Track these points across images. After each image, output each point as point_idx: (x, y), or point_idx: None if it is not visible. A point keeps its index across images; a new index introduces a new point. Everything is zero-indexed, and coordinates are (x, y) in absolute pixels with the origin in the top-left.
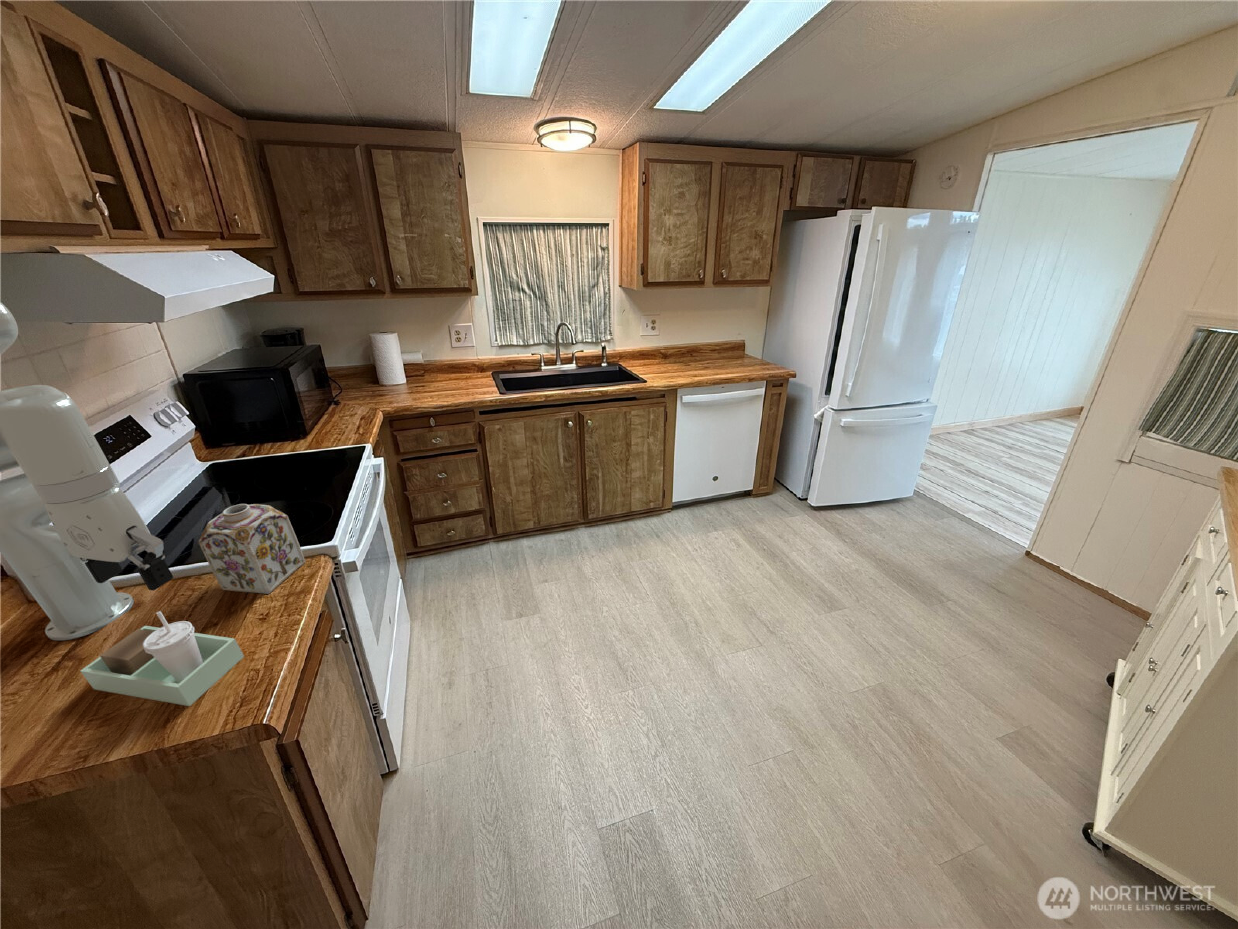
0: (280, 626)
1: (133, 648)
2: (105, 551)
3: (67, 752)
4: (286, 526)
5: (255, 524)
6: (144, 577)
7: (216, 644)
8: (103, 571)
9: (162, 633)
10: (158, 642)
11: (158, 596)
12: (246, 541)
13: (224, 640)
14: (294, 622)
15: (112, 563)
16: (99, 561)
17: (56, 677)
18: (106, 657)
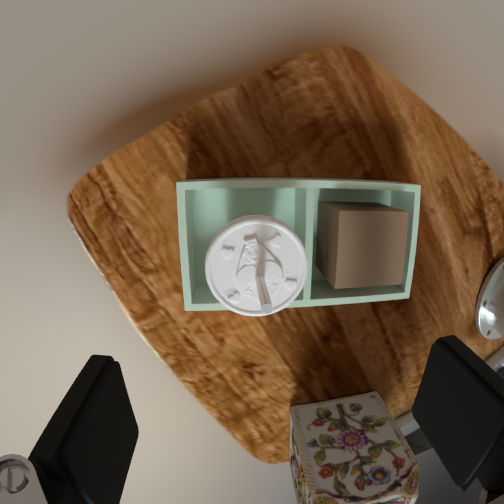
0: (199, 357)
1: (360, 239)
2: None
3: (313, 80)
4: None
5: None
6: (57, 412)
7: None
8: (451, 393)
9: (273, 269)
10: (250, 242)
11: None
12: (313, 497)
13: (204, 303)
14: (182, 368)
15: (442, 437)
16: (479, 438)
17: (467, 198)
18: (393, 211)
